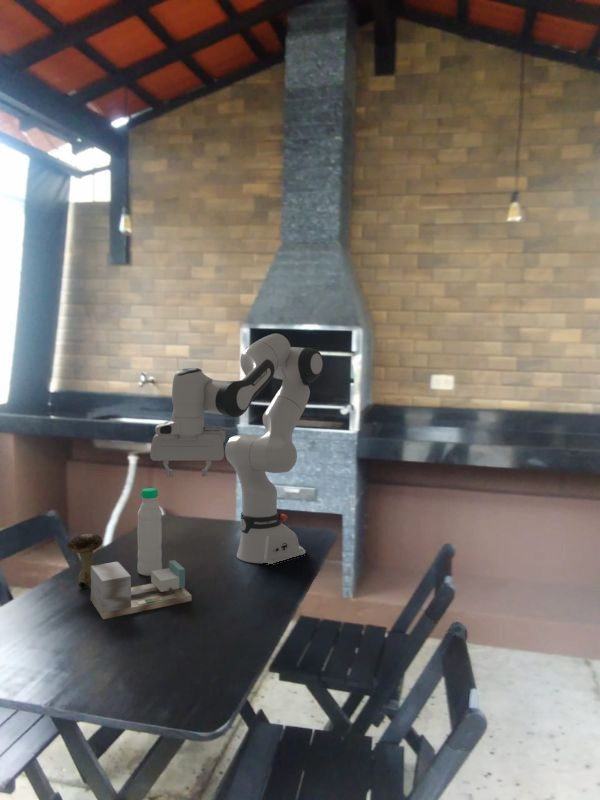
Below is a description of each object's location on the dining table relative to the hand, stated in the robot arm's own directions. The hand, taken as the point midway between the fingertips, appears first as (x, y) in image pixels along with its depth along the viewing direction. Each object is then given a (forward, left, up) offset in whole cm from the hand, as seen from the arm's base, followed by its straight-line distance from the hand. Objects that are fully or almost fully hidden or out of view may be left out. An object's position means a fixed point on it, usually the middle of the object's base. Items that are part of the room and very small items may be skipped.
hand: (187, 476), depth 174 cm
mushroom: (+25, -11, -31) cm, 42 cm away
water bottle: (+6, -14, -31) cm, 35 cm away
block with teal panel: (+7, +6, -28) cm, 30 cm away
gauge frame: (+14, +5, -31) cm, 34 cm away
